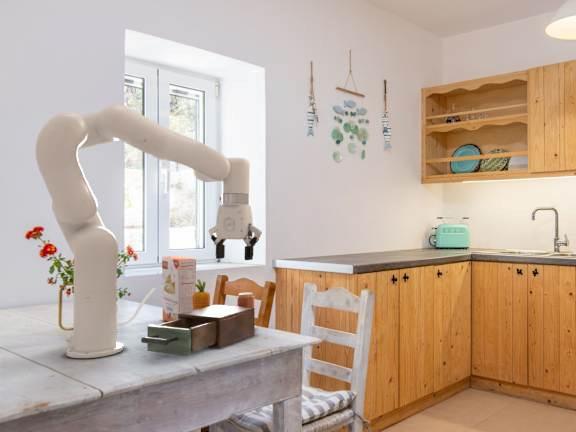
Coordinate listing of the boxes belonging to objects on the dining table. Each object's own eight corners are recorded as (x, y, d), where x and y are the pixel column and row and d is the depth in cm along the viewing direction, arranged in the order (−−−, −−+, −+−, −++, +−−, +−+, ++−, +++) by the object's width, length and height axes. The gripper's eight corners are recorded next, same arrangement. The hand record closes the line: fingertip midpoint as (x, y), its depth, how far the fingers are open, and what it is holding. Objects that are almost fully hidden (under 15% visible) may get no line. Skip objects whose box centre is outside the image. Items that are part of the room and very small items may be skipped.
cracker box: (161, 320, 172) (161, 256, 171) (179, 317, 176) (179, 255, 175) (177, 327, 161) (177, 259, 161) (196, 324, 165) (196, 258, 165)
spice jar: (233, 331, 157) (233, 294, 157) (243, 327, 162) (243, 291, 162) (247, 332, 155) (247, 295, 155) (257, 328, 160) (257, 292, 160)
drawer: (173, 361, 122) (173, 334, 122) (132, 355, 126) (132, 329, 126) (225, 342, 140) (225, 318, 140) (188, 338, 144) (188, 315, 144)
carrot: (210, 330, 158) (210, 280, 158) (192, 331, 156) (192, 281, 156) (209, 326, 162) (209, 278, 162) (192, 328, 161) (192, 279, 160)
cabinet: (219, 348, 137) (219, 317, 136) (177, 344, 141) (177, 313, 141) (254, 335, 151) (254, 307, 151) (215, 331, 156) (215, 304, 156)
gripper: (202, 199, 153) (201, 258, 153) (253, 200, 147) (252, 261, 147) (218, 200, 160) (217, 257, 160) (268, 201, 154) (267, 259, 154)
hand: (234, 259), depth 153 cm, fingers open, 9 cm apart
